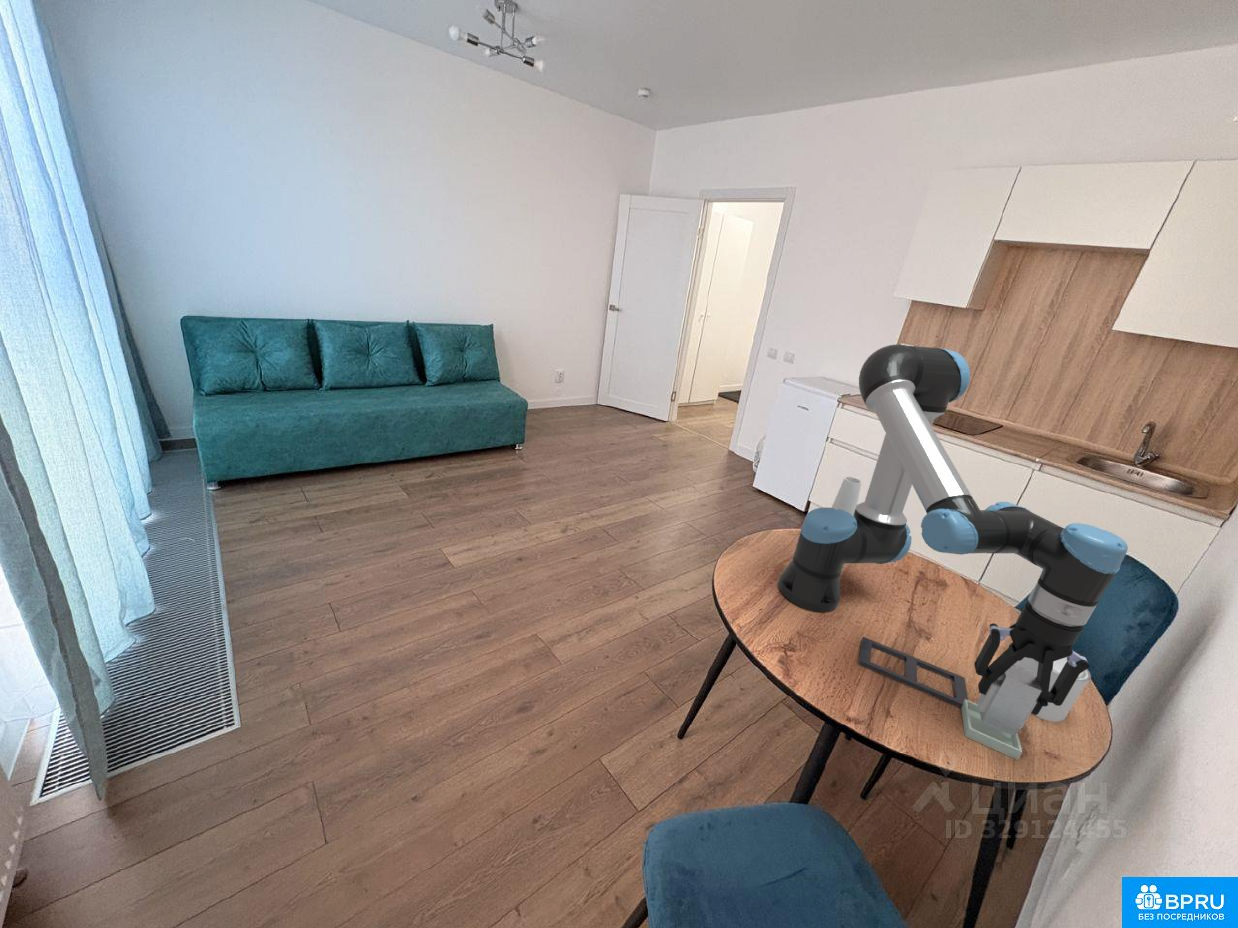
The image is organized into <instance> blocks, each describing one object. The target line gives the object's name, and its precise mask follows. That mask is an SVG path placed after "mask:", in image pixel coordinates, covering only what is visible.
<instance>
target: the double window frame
mask: <svg viewBox="0 0 1238 928" xmlns="http://www.w3.org/2000/svg"><path fill="white" fill-rule="evenodd" d="M872 648H873V649H876V650H878V651H881V652H884V653H886V654H888V655H891V656H893V657H896V658H898V659H901V660H904V675H902V674H900V673H897V672H895V671H893V670H890V669H888V668H885V667H884V666H881V665H878V664H876V663H874V662H871V658H872V656H871V655H872ZM859 649H860V651H859V657H858V665H860V666H862V667H865V668H867V669H870V670H871V671H874V672H876V673H879V674H880V675H884V676H885V677H888V678H890V679H892V680H895V681H897V682H900V683H901V684H904V685H906V686H909V687H911V688H913V689H916V690H918V691H921V692H923V693H924V694H927V695H930V696H932V697H934V698H937V699H939V700H942V701H943V702H946V703H949V704H950V705H953V706H955V707H958V708H960V709H961V708H962V706H963V702H964V700H965V699H966V700H968V701H969V697H968V691H967V685H966V678H965V676H962V675H959V674H957V673H954V672H951V671H949V670H948V669H945V668H942V667H939V666H937V665H934V664H932V663H929V662H927V661H925V660H922V659H919V658H917V657H915V656H913V655H911V654H907V653H905V652H902V651H900V650H897V649H895V648H893V647H890V646H887V645H885V644H882V643H880V642H877V641H875V640H873V639H870V638H868V637H865V636H862V637H861V642H860V648H859ZM918 667H921V668H923V669H926V670H928V671H930V672H933V673H935V674H938V675H940V676H943V677H945V678H947V679H949V680H951V681H952V690H953V696H952V695H949V694H947V693H944V692H942V691H940V690H938V689H935V688H933V687H931V686H928V685H925V684H924V683H921V682H918ZM968 708H969V706H968Z"/></svg>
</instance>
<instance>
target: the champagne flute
mask: <svg viewBox="0 0 1238 928" xmlns="http://www.w3.org/2000/svg"><path fill="white" fill-rule="evenodd" d="M861 486H862V480H860V479H859V478H857V477H852V476H845V477H844V478H843V480H842V483H841V484H840V487H839V489H838V492H837V495H836V496H835V498H834V501H833V503H832V506H831V507H830V508H834V509H836V510H838V509H840V510H843V511H846V512H848V513H850V514H851V515H854V512H855V509H856V506H857V505H858V501H859V497H860V494H861V493H860V492H861Z"/></svg>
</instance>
